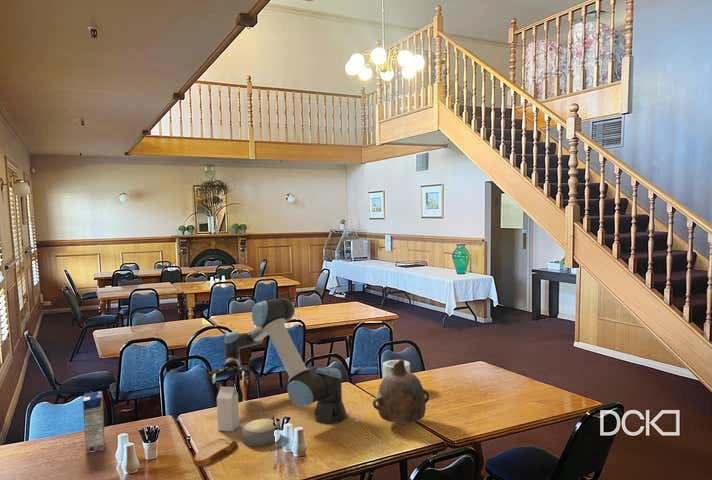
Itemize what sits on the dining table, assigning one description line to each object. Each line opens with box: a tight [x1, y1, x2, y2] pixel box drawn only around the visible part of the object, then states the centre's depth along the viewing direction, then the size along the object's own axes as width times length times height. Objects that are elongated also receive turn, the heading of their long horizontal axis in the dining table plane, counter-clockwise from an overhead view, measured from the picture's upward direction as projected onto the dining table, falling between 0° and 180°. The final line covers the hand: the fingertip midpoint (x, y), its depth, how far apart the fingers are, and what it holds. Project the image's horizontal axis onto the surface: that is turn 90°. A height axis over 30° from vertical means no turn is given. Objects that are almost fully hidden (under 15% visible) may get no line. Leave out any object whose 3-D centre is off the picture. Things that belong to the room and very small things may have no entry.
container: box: [382, 359, 411, 380], centre depth 266 cm, size 16×16×15 cm
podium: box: [241, 418, 281, 448], centre depth 210 cm, size 16×16×6 cm
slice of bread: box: [193, 438, 238, 467], centre depth 198 cm, size 18×18×4 cm
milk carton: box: [216, 386, 240, 432], centre depth 223 cm, size 7×7×19 cm
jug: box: [372, 359, 430, 426], centre depth 218 cm, size 24×21×30 cm
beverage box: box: [82, 390, 106, 453], centre depth 208 cm, size 7×11×22 cm, turn 27°
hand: (228, 379), depth 232 cm, fingers open, 13 cm apart
